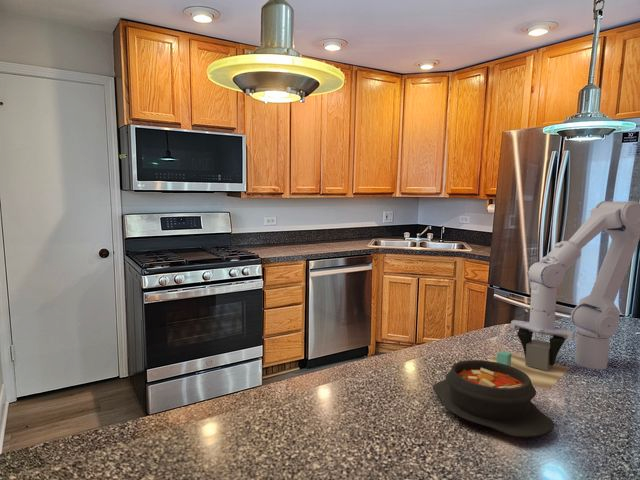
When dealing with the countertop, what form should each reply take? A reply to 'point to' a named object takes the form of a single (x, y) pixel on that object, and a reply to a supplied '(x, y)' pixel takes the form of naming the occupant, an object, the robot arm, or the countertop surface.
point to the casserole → (493, 398)
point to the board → (537, 371)
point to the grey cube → (538, 355)
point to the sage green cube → (504, 358)
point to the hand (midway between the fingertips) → (539, 361)
